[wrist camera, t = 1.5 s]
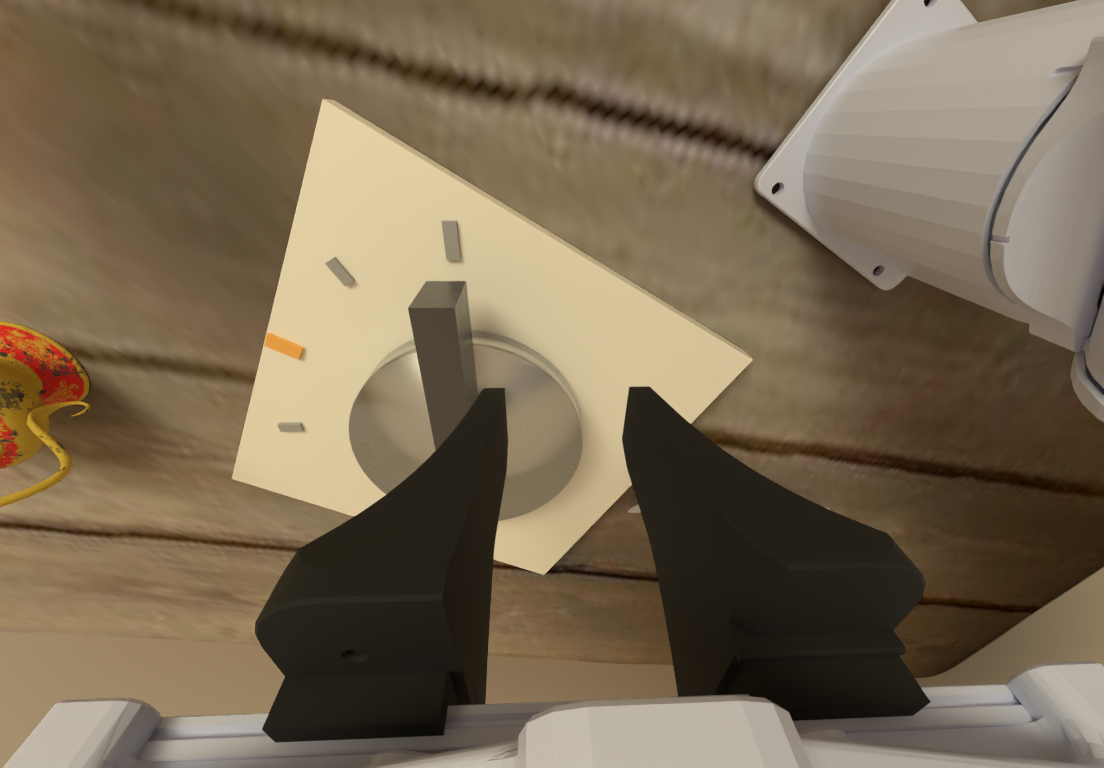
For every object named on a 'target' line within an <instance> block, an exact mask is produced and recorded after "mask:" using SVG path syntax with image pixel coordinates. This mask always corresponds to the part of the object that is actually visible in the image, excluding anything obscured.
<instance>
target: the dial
mask: <svg viewBox="0 0 1104 768" xmlns="http://www.w3.org/2000/svg"><path fill="white" fill-rule="evenodd" d="M408 311H409V316H410V322H411V327H412V332H413V337H414V339H412V340H410V341H408V342H406V343H404V344H402V345H400V346H399V347H398V348H396V349H395V350H393V351H392V352H390V353H389V354H388V355H387V356H386V357H385V358H384V359H383V360H381V361H380V362H379V364H378V365H377V366H376V368H375V369H374V370H373V372H372V373H371V375H370V376H369V378H368V379H367V381H366V382H365V384H364V385H363V387H362V388H361V390H360V392H359V393H358V395H357V397H356V399H355V401H354V403H353V406H352V409H351V413H350V418H349V439H350V443H351V447H352V451H353V453H354V455H355V458H356V460H357V462H358V464H359V465H360V467H361V469H362V470H363V472H364V473H365V474H366V475H367V477H368V478H369V479H370V480H371V481H372V482H373V483H374V484H375V485H376V486H377V487H378V488H379V489H380V490H381V491H382V492H384V493H385V494H388V493H389V492H390V491H391V490H393V489H394V488H395V487H396V486H398V485H399V484H400V483H401V482H403V481H404V480H405V479H406V478H407V477H408V476H410V475H411V474H412V473H413V472H414V471H415V470H416V469H417V468H418V467H420V466H421V465H422V464H423V463H424V462H425V461H426V460H427V459H428V458H429V457H430V456H431V455H432V454H433V453H434V452H435V451H436V450H437V448H438V447H439V446H440V445H441V444H442V443H443V442H444V440H445V439H446V438H447V437H448V436H449V435H450V434H451V432H452V431H453V430H454V429H455V427H456V426H457V425H458V424H459V422H460V421H461V420H462V418H463V417H464V416H465V414H466V413H467V412H468V410H469V409H470V407H471V406H472V404H473V403H474V401H475V400H476V398H477V397H478V395H479V393H480V392H481V391H482V390H483V389H484V388H505V398H506V415H507V431H508V455H507V471H506V478H505V484H504V490H503V496H502V502H501V508H500V514H499V520H498V521H502V520H507V519H511V518H515V517H518V516H521V515H524V514H527V513H529V512H531V511H533V510H536V509H538V508H540V507H541V506H543V505H544V504H546V503H548V502H549V501H551V500H552V499H553V498H554V497H556V496H557V495H558V494H559V493H560V492H561V491H562V490H563V489H564V488H565V487H566V486H567V484H568V483H569V482H570V480H571V479H572V477H573V475H574V474H575V472H576V470H577V468H578V465H579V462H580V459H581V453H582V447H583V445H582V430H581V423H580V417H579V411H578V406H577V402H576V399H575V396H574V394H573V391H572V389H571V388H570V386H569V384H568V382H567V381H566V379H565V378H564V377H563V375H562V374H561V373H560V371H559V370H558V369H557V368H556V367H555V366H554V365H553V364H552V363H551V362H550V361H549V360H547V359H546V358H545V357H543V356H542V355H541V354H540V353H538V352H537V351H535V350H533V349H532V348H530V347H528V346H526V345H525V344H523V343H520V342H518V341H516V340H513V339H511V338H508V337H505V336H501V335H498V334H494V333H489V332H483V331H477V330H471V322H470V312H469V303H468V293H467V284H466V281H426V282H425V284H424V285H423V286H422V288H421V289H420V291H419V292H418V294H417V295H416V297H415V298H414V300H413V301H412V303H411V304H410V306H409V307H408Z"/></svg>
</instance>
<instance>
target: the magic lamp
mask: <svg viewBox="0 0 1104 768" xmlns="http://www.w3.org/2000/svg"><path fill="white" fill-rule="evenodd" d="M89 388H90V386H89V379H88V376H87V374H86V372H85V370H84V369H83V367H82V365H81V364H80V363H79V362H78V361H77V359H76V358H75V357H74V356H73V355H72V354H71V353H70V352H68V351H67V350H66V349H65V348H64V347H62V346H61V345H60V344H58V343H57V342H55V341H54V340H52V339H50V338H49V337H47V336H45V335H43V334H41V333H39V332H37V331H35V330H32V329H30V328H27V327H24V326H21V325H18V324H14V323H9V322H1V321H0V469H2V468H7V467H10V466H13V465H17V464H19V463H21V462H24V461H26V460H27V459H29V458H30V457H32V456H33V455H34V454H35V453H37V452H38V451H39V450H40V448H41V447H42V445H43V444H44V443H45V444H46V445H47V446H48V447H49V448H50V449H51V450H52V451H53V452H54V453H55V455H56V456H57V457H58V458H59V460H60V464H61V466H60V468H59V470H58V471H57V472H56V473H55V474H54V475H53V476H51V477H50V478H48V479H46V480H44V481H42V482H40V483H38V484H36V485H34V486H32V487H29V488H27V489H24V490H22V491H19V492H16V493H14V494H11V495H8V496H5V497H2V498H0V507H2V506H5V505H8V504H11V503H14V502H17V501H19V500H22V499H24V498H27V497H30V496H32V495H34V494H37V493H39V492H41V491H44V490H46V489H47V488H49V487H51V486H53V485H55V484H56V483H58V482H59V481H61V480H62V479H63V478H64V477H65V476H66V475H67V474H68V473H69V472H70V470H71V468H72V466H73V465H72V459H71V456H70V455H69V453H68V452H67V451H66V450H65V448H64V447H63V446H62V445H61V444H60V443H59V442H58V441H57V440H56V439H55V438H53V437H52V436H51V435H50V434H49V427H50V419H49V415H50V414H51V413H53V412H54V411H56V410H58V409H60V408H62V407H65V406H69V405H84V406H86V408H85V409H84V410H83V411H81V412H80V413H77V414H75V415H72V416H77V415H81V414H83V413H85V412H87V411H88V410H89V409H90V405H89V404H88V403H85V402H80V401H81V400H83V399H84V398H85V397H86V396H87V394H88V392H89ZM44 404H46V405H44ZM70 417H71V416H70Z"/></svg>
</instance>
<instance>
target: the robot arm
mask: <svg viewBox="0 0 1104 768" xmlns="http://www.w3.org/2000/svg"><path fill="white" fill-rule="evenodd" d="M776 183H779V184H780V186H779V190H778V191H777V192H776V193H775V194H772V188H773V186H774V185H775V184H776ZM754 188H755V190H756V192H757V193H759V194H760V195H761V196H762V197H764V198H765V199H766V200H767V201H769V202H770V203H771V204H772V205H774V206H775V207H776V208H778V209H779V210H780V211H781V212H783V213H784V214H785V215H786V216H788V217H789V218H790V219H791V220H793V221H794V222H795V223H797V224H798V225H799V226H800V227H802V228H803V229H804V230H805V231H807V232H808V233H809V234H810V235H812V236H813V237H814V238H816V239H817V240H818V241H819V242H821V243H822V244H823V245H824V246H826V247H827V248H828V249H829V250H831V251H832V252H833V253H835V254H836V255H837V256H838V257H840V258H841V259H842V260H843V261H845V262H846V263H847V264H848V265H850V266H851V267H852V268H854V269H855V270H856V271H857V272H859V273H860V274H861V275H862V276H864V277H865V278H866V279H867V280H869V281H870V282H871V283H873V284H874V285H875V286H876V287H878V288H880V289H882V290H890V289H893V288H894V287H895V286H897V285H898V284H899V283H900V282H901V281H902V280H903V279H904V278H905V277H906V276H910V277H912V278H915V279H917V280H920V281H922V282H924V283H927V284H929V285H932V286H934V287H937V288H939V289H941V290H944V291H946V292H949V293H951V294H954V295H956V296H958V297H961V298H963V299H966V300H968V301H971V302H973V303H975V304H978V305H980V306H983V307H985V308H988V309H990V310H992V311H995V312H997V313H1000V314H1002V315H1005V316H1007V317H1009V318H1012V319H1014V320H1018V321H1021V322H1025V323H1028V324H1030V327H1029V333H1031V334H1033V335H1036V336H1038V337H1041V338H1043V339H1045V340H1048V341H1050V342H1052V343H1055V344H1057V345H1059V346H1062V347H1064V348H1066V349H1069V350H1071V351H1073V352H1075V356H1074V359H1073V363H1072V368H1071V374H1070V376H1071V380H1072V384H1073V388H1074V391H1075V393H1076V394H1077V396H1078V398H1079V399H1080V401H1081V402H1082V404H1083V405H1084V406H1085V407H1086V408H1087V409H1088V410H1089V411H1090V412H1091V413H1092V414H1093V415H1094V416H1095V417H1096V418H1098V419H1099V420H1100V421H1102V422H1103V423H1104V0H1078V1H1074V2H1069V3H1065V4H1060V5H1056V6H1051V7H1047V8H1042V9H1038V10H1033V11H1029V12H1024V13H1020V14H1015V15H1011V16H1007V17H1002V18H998V19H993V20H989V21H984V22H980V23H978V22H977V21H976V20H975V18H974V17H973V16H972V15H971V13H970V12H969V11H968V9H967V8H966V7H965V6H964V4H963V3H962V2H961V1H960V0H930V2H929V4H928V5H927V6H925V4H924V0H891V2H890V3H889V4H888V6H887V7H886V8H885V9H884V11H883V12H882V13H881V15H880V16H879V17H878V19H877V20H876V21H875V22H874V24H873V25H872V26H871V28H870V29H869V30H868V32H867V33H866V34H865V36H864V37H863V38H862V39H861V41H860V42H859V43H858V45H857V46H856V47H855V49H854V50H853V51H852V52H851V54H850V55H849V56H848V58H847V59H846V60H845V62H844V63H843V64H842V66H841V67H840V68H839V69H838V71H837V72H836V73H835V75H834V76H833V77H832V79H831V80H830V81H829V82H828V84H827V85H826V86H825V88H824V89H823V90H822V92H821V93H820V94H819V95H818V97H817V98H816V99H815V101H814V102H813V103H812V105H811V106H810V107H809V109H808V110H807V111H806V112H805V114H804V115H803V116H802V118H801V119H800V120H799V122H798V123H797V124H796V125H795V127H794V128H793V129H792V131H791V132H790V133H789V135H788V136H787V137H786V138H785V140H784V141H783V142H782V144H781V145H780V146H779V148H778V149H777V150H776V152H775V153H774V154H773V155H772V157H771V158H770V159H769V161H768V162H767V163H766V165H765V166H764V167H763V168H762V170H761V171H760V172H759V174H758V175H757V177H756V179H755V182H754ZM877 266H878V269H877V270H876V271H875V272H874V273H873V270H874V269H875V268H876V267H877ZM622 443H623V449H624V455H625V460H626V465H627V470H628V473H629V476H630V479H631V483H632V486H633V489H634V492H635V495H636V498H637V501H638V505H639V508H640V511H641V514H642V517H643V520H644V523H645V526H646V529H647V533H648V536H649V540H650V544H651V548H652V552H653V557H654V562H655V567H656V571H657V576H658V581H659V586H660V592H661V597H662V602H663V607H664V612H665V618H666V624H667V630H668V635H669V641H670V647H671V653H672V659H673V665H674V671H675V678H676V684H677V691H678V697H656V698H631V699H608V700H581V701H555V702H530V703H504V704H485V698H486V676H487V656H488V638H489V620H490V603H491V587H492V572H493V558H494V546H495V538H496V532H497V526H498V520H499V514H500V508H501V502H502V496H503V490H504V484H505V478H506V471H507V455H508V431H507V415H506V398H505V388H484V389H483V390H482V391H481V392H480V393H479V395H478V397H477V398H476V400H475V401H474V403H473V404H472V406H471V407H470V409H469V410H468V412H467V413H466V414H465V416H464V417H463V418H462V420H461V421H460V422H459V424H458V425H457V426H456V427H455V429H454V430H453V431H452V432H451V434H450V435H449V436H448V437H447V438H446V439H445V440H444V442H443V443H442V444H441V445H440V446H439V447H438V448H437V450H436V451H435V452H434V453H433V454H432V455H431V456H430V457H429V458H428V459H427V460H426V461H425V462H424V463H423V464H422V465H421V466H420V467H418V468H417V469H416V470H415V471H414V472H413V473H412V474H411V475H410V476H408V477H407V478H406V479H405V480H404V481H403V482H401V483H400V484H399V485H398V486H396V487H395V488H394V489H393V490H391V491H390V492H389V493H388V494H386V495H385V496H384V497H382V498H381V499H379V500H378V501H377V502H375V503H374V504H372V505H371V506H370V507H368V508H367V509H365V510H364V511H362V512H361V513H359V514H357V515H356V516H354V517H353V518H351V519H350V520H348V521H347V522H345V523H343V524H342V525H340V526H338V527H337V528H335V529H333V530H331V531H330V532H328V533H326V534H324V535H323V536H321V537H319V538H317V539H316V540H314V541H312V542H310V543H309V544H307V545H305V546H303V547H301V548H299V549H298V551H297V553H296V554H295V556H294V557H293V559H292V560H291V562H290V563H289V564H288V566H287V567H286V569H285V571H284V572H283V574H282V576H281V577H280V579H279V581H278V583H277V584H276V586H275V588H274V590H273V592H272V593H271V595H270V597H269V599H268V601H267V602H266V604H265V606H264V608H263V610H262V611H261V613H260V615H259V617H258V619H257V621H256V623H255V634H256V636H257V638H258V640H259V642H260V644H261V646H262V648H263V649H264V650H265V651H266V653H267V654H268V655H269V657H270V658H271V659H272V660H273V662H274V663H275V664H276V665H277V667H278V668H279V669H280V670H281V672H282V673H283V674H284V675H285V679H284V681H283V683H282V686H281V688H280V690H279V692H278V694H277V697H276V699H275V701H274V703H273V706H272V708H271V710H270V712H269V713H250V714H225V715H202V716H200V715H199V716H174V717H161V716H160V714H159V712H158V711H157V710H156V709H155V708H154V707H152V706H151V705H150V704H148V703H145V702H144V701H141V700H136V699H132V698H103V699H102V698H101V699H74V700H63V701H60V702H58V703H56V704H55V705H54V707H53V708H52V709H51V710H50V711H49V712H48V714H47V715H46V716H45V717H44V718H43V720H42V721H41V722H40V723H39V724H38V726H37V727H36V728H35V729H34V731H33V732H32V733H31V734H30V735H29V737H28V738H27V739H26V740H25V742H24V743H23V744H22V745H21V746H20V748H19V749H18V750H17V751H16V752H15V754H14V755H13V756H12V757H11V759H10V760H9V761H8V763H7V764H6V765H5V766H4V767H3V768H1104V666H1103V665H1102V664H1099V663H1096V662H1093V661H1087V662H1061V663H1043V664H1036V665H1033V666H1029V667H1026V668H1024V669H1022V670H1020V671H1018V672H1017V673H1016V674H1014V675H1013V676H1012V677H1011V678H1009V679H1008V681H1007V684H988V685H963V686H936V687H920V686H919V684H918V683H917V681H916V680H915V678H914V677H913V675H912V674H911V672H910V671H909V670H908V668H907V667H906V665H905V664H904V662H903V661H902V659H901V658H900V656H899V655H903V654H904V653H905V652H906V651H905V646H904V645H903V644H902V642H901V641H900V639H899V638H898V636H897V635H896V634H895V632H894V631H893V630H894V629H895V628H896V627H897V625H898V624H899V623H900V622H901V621H902V620H903V619H904V618H905V617H906V616H907V615H908V614H909V613H910V612H911V611H912V609H913V608H914V607H915V606H916V605H917V604H918V602H919V601H920V599H921V598H922V596H923V592H924V588H925V583H926V582H925V580H924V577H923V575H922V573H921V572H920V571H919V569H918V568H917V567H916V566H915V565H914V564H913V562H912V561H911V560H910V559H909V558H908V557H907V555H906V554H905V553H904V552H903V551H902V550H901V549H900V547H899V546H898V545H897V544H896V543H895V542H894V540H893V539H892V538H891V537H890V536H889V535H888V534H887V533H884V532H882V531H879V530H877V529H875V528H872V527H870V526H867V525H865V524H862V523H860V522H857V521H855V520H852V519H850V518H847V517H845V516H842V515H840V514H837V513H835V512H833V511H831V510H829V509H826V508H824V507H822V506H820V505H818V504H816V503H814V502H812V501H809V500H807V499H805V498H803V497H801V496H799V495H797V494H795V493H793V492H791V491H789V490H787V489H786V488H784V487H782V486H780V485H778V484H777V483H775V482H773V481H771V480H770V479H768V478H766V477H764V476H762V475H761V474H759V473H757V472H756V471H754V470H752V469H751V468H749V467H748V466H746V465H745V464H743V463H742V462H740V461H739V460H737V459H736V458H734V457H733V456H731V455H730V454H728V453H727V452H725V451H724V450H723V449H721V448H720V447H719V446H717V445H716V444H715V443H713V442H712V441H711V440H710V439H708V438H707V437H706V436H704V435H703V434H702V433H701V432H699V431H698V430H697V429H696V428H695V427H693V426H692V425H691V424H690V423H689V422H688V421H687V420H685V419H684V418H683V417H682V416H681V415H680V414H679V413H678V412H676V411H675V410H674V409H673V408H672V407H671V406H670V405H669V404H668V403H667V402H666V401H665V400H664V399H663V398H661V397H660V396H659V395H658V394H657V393H656V392H655V391H654V390H653V389H652V388H651V387H649V386H646V387H629V392H628V399H627V406H626V413H625V420H624V427H623V435H622Z"/></svg>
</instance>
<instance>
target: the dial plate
mask: <svg viewBox="0 0 1104 768" xmlns="http://www.w3.org/2000/svg"><path fill="white" fill-rule="evenodd" d="M426 281H466V284H467V293H468V303H469V312H470V322H471V330H477V331H483V332H489V333H494V334H498V335H501V336H505V337H508V338H511V339H513V340H516V341H518V342H520V343H523V344H525V345H526V346H528V347H530V348H532V349H533V350H535V351H537V352H538V353H540V354H541V355H542V356H543V357H545V358H546V359H547V360H549V361H550V362H551V363H552V364H553V365H554V366H555V367H556V368H557V369H558V370H559V371H560V373H561V374H562V375H563V377H564V378H565V379H566V381H567V382H568V384H569V386H570V388H571V389H572V391H573V394H574V396H575V399H576V402H577V406H578V411H579V417H580V423H581V430H582V445H583V447H582V453H581V459H580V462H579V465H578V468H577V470H576V472H575V474H574V475H573V477H572V479H571V480H570V482H569V483H568V484H567V486H566V487H565V488H564V489H563V490H562V491H561V492H560V493H559V494H558V495H557V496H556V497H554V498H553V499H552V500H551V501H549V502H548V503H546V504H544V505H543V506H541V507H540V508H538V509H536V510H533V511H531V512H529V513H527V514H524V515H521V516H518V517H515V518H511V519H507V520H502V521H498V526H497V532H496V538H495V546H494V558H493V559H494V560H497V561H501V562H504V563H507V564H510V565H514V566H517V567H520V568H523V569H527V570H530V571H533V572H536V573H540V574H543V575H544V574H545V573H546V572H547V571H548V570H549V569H550V568H551V567H552V566H553V565H554V564H555V563H556V562H557V561H558V560H559V559H560V558H561V557H562V556H563V555H564V554H565V553H566V552H567V551H568V550H569V549H570V548H571V547H572V546H573V545H574V544H575V543H576V542H577V540H578V539H579V538H580V537H581V536H582V535H583V534H584V533H585V532H586V531H587V530H588V529H589V528H590V527H591V526H592V525H593V524H594V523H595V522H596V521H597V520H598V519H599V518H600V517H601V516H602V515H603V514H604V513H605V512H606V511H607V510H608V509H609V508H610V507H611V505H612V504H613V503H614V502H615V501H616V500H617V499H618V498H619V497H620V496H621V495H622V494H623V493H624V492H625V491H626V490H627V489H628V488H629V487H630V486H631V485H632V483H631V479H630V476H629V473H628V470H627V465H626V460H625V455H624V449H623V443H622V435H623V427H624V420H625V413H626V406H627V399H628V392H629V387H646V386H649V387H651V388H652V389H653V390H654V391H655V392H656V393H657V394H658V395H659V396H660V397H661V398H663V399H664V400H665V401H666V402H667V403H668V404H669V405H670V406H671V407H672V408H673V409H674V410H675V411H676V412H678V413H679V414H680V415H681V416H682V417H683V418H684V419H685V420H687V421H688V422H689V423H690V424H691V423H692V422H693V421H694V420H695V419H696V418H697V417H698V416H699V415H700V414H701V413H702V412H703V411H704V410H705V409H706V408H707V407H708V406H709V405H710V404H711V403H712V401H713V400H714V399H715V398H716V397H717V396H718V395H719V394H720V393H721V392H722V391H723V390H724V389H725V388H726V387H727V386H728V385H729V384H730V383H731V382H732V381H733V380H734V379H735V378H736V377H737V376H738V375H739V374H740V373H741V372H742V371H743V370H744V369H745V368H746V366H747V365H748V364H749V363H750V362H751V361H752V360H753V359H752V358H751V357H750V356H749V355H748V354H747V353H746V352H745V351H744V350H742V349H741V348H739V347H737V346H736V345H734V344H732V343H731V342H729V341H728V340H726V339H724V338H723V337H721V336H719V335H718V334H716V333H714V332H713V331H711V330H710V329H708V328H706V327H705V326H703V325H701V324H700V323H698V322H696V321H695V320H693V319H692V318H690V317H688V316H687V315H685V314H683V313H682V312H680V311H678V310H677V309H675V308H674V307H672V306H670V305H669V304H667V303H665V302H664V301H662V300H660V299H659V298H657V297H656V296H654V295H652V294H651V293H649V292H647V291H646V290H644V289H642V288H641V287H639V286H638V285H636V284H634V283H633V282H631V281H629V280H628V279H626V278H624V277H623V276H621V275H620V274H618V273H616V272H615V271H613V270H611V269H610V268H608V267H606V266H605V265H603V264H601V263H600V262H598V261H597V260H595V259H593V258H592V257H590V256H588V255H587V254H585V253H583V252H582V251H580V250H579V249H577V248H575V247H574V246H572V245H570V244H569V243H567V242H565V241H564V240H562V239H561V238H559V237H557V236H556V235H554V234H552V233H551V232H549V231H547V230H546V229H544V228H543V227H541V226H539V225H538V224H536V223H534V222H533V221H531V220H529V219H528V218H526V217H525V216H523V215H521V214H520V213H518V212H516V211H515V210H513V209H511V208H510V207H508V206H507V205H505V204H503V203H502V202H500V201H498V200H497V199H495V198H493V197H492V196H490V195H489V194H487V193H485V192H484V191H482V190H480V189H479V188H477V187H475V186H474V185H472V184H471V183H469V182H467V181H466V180H464V179H462V178H461V177H459V176H457V175H456V174H454V173H452V172H451V171H449V170H448V169H446V168H444V167H443V166H441V165H439V164H438V163H436V162H434V161H433V160H431V159H430V158H428V157H426V156H425V155H423V154H421V153H420V152H418V151H416V150H415V149H413V148H412V147H410V146H408V145H407V144H405V143H403V142H402V141H400V140H398V139H397V138H395V137H394V136H392V135H390V134H389V133H387V132H385V131H384V130H382V129H380V128H379V127H377V126H376V125H374V124H372V123H371V122H369V121H367V120H366V119H364V118H362V117H361V116H359V115H358V114H356V113H354V112H353V111H351V110H349V109H348V108H346V107H344V106H343V105H341V104H340V103H338V102H336V101H335V100H327V99H323V100H322V104H321V108H320V112H319V116H318V121H317V125H316V129H315V133H314V137H313V142H312V146H311V150H310V154H309V158H308V162H307V167H306V171H305V175H304V179H303V183H302V187H301V192H300V196H299V200H298V204H297V208H296V212H295V217H294V221H293V225H292V229H291V233H290V237H289V242H288V246H287V250H286V254H285V258H284V263H283V267H282V271H281V275H280V279H279V283H278V288H277V292H276V296H275V300H274V304H273V308H272V313H271V317H270V321H269V325H268V329H267V333H266V338H265V342H264V346H263V350H262V354H261V359H260V363H259V367H258V371H257V375H256V379H255V384H254V388H253V392H252V396H251V400H250V404H249V409H248V413H247V417H246V421H245V425H244V429H243V434H242V438H241V442H240V446H239V450H238V454H237V459H236V463H235V467H234V471H233V475H232V479H234V480H237V481H241V482H244V483H247V484H250V485H254V486H257V487H260V488H263V489H267V490H270V491H273V492H276V493H280V494H283V495H286V496H289V497H293V498H296V499H299V500H302V501H306V502H309V503H312V504H315V505H319V506H322V507H325V508H328V509H332V510H335V511H338V512H341V513H345V514H348V515H351V516H356V515H357V514H359V513H361V512H362V511H364V510H365V509H367V508H368V507H370V506H371V505H372V504H374V503H375V502H377V501H378V500H379V499H381V498H382V497H384V496H385V495H386V494H385V493H384V492H382V491H381V490H380V489H379V488H378V487H377V486H376V485H375V484H374V483H373V482H372V481H371V480H370V479H369V478H368V477H367V475H366V474H365V473H364V472H363V470H362V469H361V467H360V465H359V464H358V462H357V460H356V458H355V455H354V453H353V451H352V447H351V443H350V439H349V418H350V413H351V409H352V406H353V403H354V401H355V399H356V397H357V395H358V393H359V392H360V390H361V388H362V387H363V385H364V384H365V382H366V381H367V379H368V378H369V376H370V375H371V373H372V372H373V370H374V369H375V368H376V366H377V365H378V364H379V362H380V361H381V360H383V359H384V358H385V357H386V356H387V355H388V354H389V353H390V352H392V351H393V350H395V349H396V348H398V347H399V346H400V345H402V344H404V343H406V342H408V341H410V340H412V339H414V337H413V332H412V327H411V322H410V316H409V311H408V307H409V306H410V304H411V303H412V301H413V300H414V298H415V297H416V295H417V294H418V292H419V291H420V289H421V288H422V286H423V285H424V284H425V282H426Z"/></svg>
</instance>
